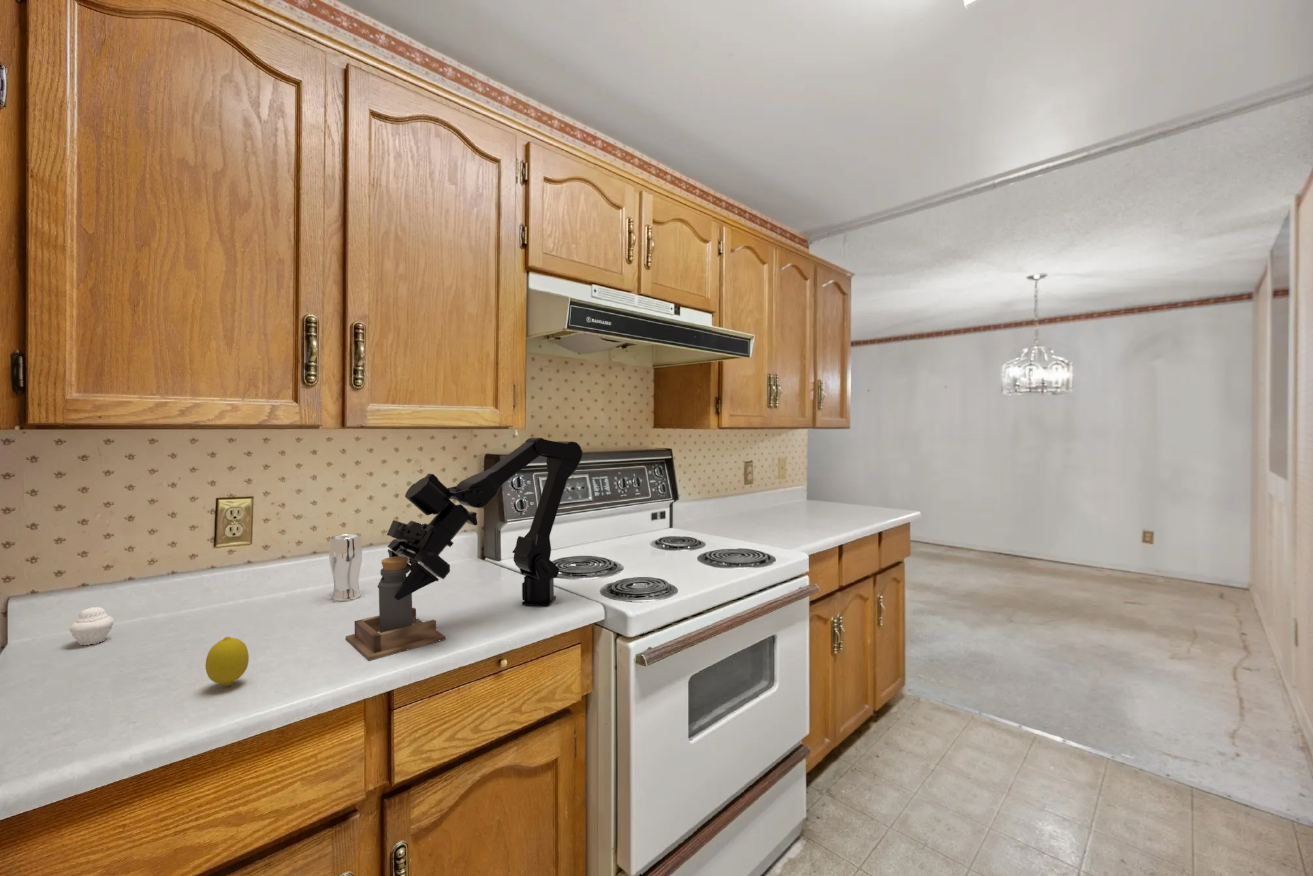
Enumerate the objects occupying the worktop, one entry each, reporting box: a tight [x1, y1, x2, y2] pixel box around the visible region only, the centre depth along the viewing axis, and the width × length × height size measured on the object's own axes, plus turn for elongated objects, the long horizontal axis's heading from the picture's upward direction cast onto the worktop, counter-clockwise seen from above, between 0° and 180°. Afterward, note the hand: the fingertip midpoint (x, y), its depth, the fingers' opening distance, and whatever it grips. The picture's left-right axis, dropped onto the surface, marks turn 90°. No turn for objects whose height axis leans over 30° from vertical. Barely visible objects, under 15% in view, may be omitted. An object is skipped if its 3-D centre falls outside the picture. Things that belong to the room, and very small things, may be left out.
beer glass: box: [328, 533, 363, 602], centre depth 136 cm, size 7×7×15 cm
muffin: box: [68, 606, 115, 647], centre depth 108 cm, size 6×6×7 cm
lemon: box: [205, 636, 250, 687], centre depth 90 cm, size 6×6×8 cm
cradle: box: [345, 607, 447, 661], centre depth 109 cm, size 14×14×4 cm
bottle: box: [378, 556, 413, 633], centre depth 109 cm, size 6×6×15 cm
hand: (387, 593), depth 108 cm, fingers open, 9 cm apart
